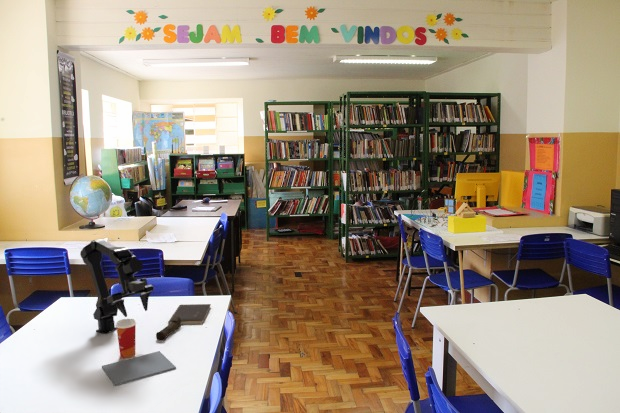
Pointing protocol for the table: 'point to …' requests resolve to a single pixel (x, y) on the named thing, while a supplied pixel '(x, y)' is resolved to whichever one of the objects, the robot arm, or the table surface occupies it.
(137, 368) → the mat
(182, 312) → the hardcover book
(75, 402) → the table surface
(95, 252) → the robot arm
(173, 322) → the brown wooden branch
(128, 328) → the paper cup
